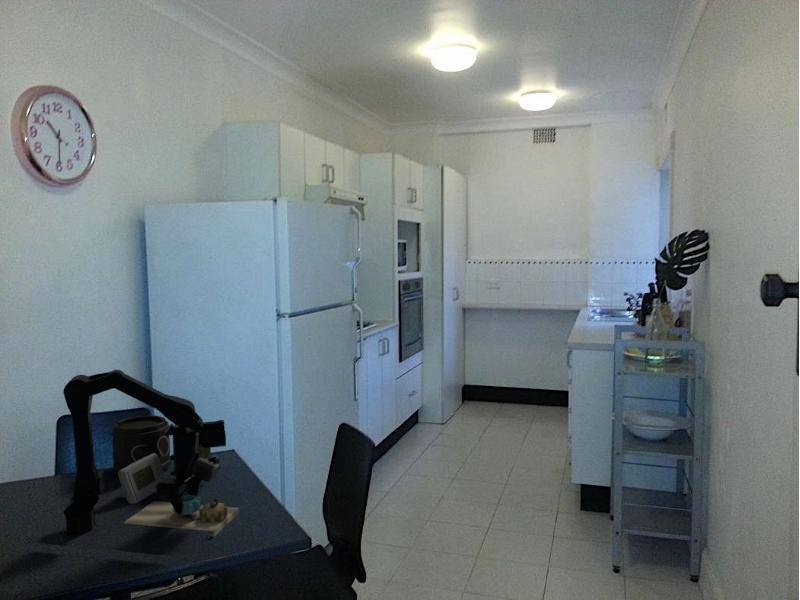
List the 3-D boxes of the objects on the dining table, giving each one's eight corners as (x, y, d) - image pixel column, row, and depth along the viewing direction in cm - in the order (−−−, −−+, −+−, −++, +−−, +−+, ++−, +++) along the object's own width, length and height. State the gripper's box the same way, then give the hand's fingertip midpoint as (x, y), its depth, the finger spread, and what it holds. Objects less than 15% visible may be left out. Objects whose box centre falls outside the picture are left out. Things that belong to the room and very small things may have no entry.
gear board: (213, 536, 157) (213, 513, 157) (122, 528, 162) (121, 505, 161) (238, 513, 171) (238, 491, 170) (154, 506, 176) (153, 485, 175)
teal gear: (192, 516, 162) (192, 505, 161) (167, 514, 163) (167, 503, 163) (205, 505, 168) (205, 494, 168) (182, 503, 170) (181, 493, 170)
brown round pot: (185, 465, 208) (183, 418, 207) (138, 483, 193) (135, 432, 191) (148, 456, 217) (146, 411, 216) (100, 473, 202) (98, 424, 200)
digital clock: (131, 510, 173) (130, 472, 172) (108, 505, 177) (106, 467, 176) (176, 490, 188) (175, 454, 187) (154, 485, 192) (152, 450, 191)
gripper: (195, 464, 154) (197, 526, 155) (230, 440, 172) (232, 496, 173) (153, 461, 156) (155, 522, 157) (192, 438, 174) (194, 493, 175)
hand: (187, 508), depth 166 cm, fingers closed on teal gear, 7 cm apart
